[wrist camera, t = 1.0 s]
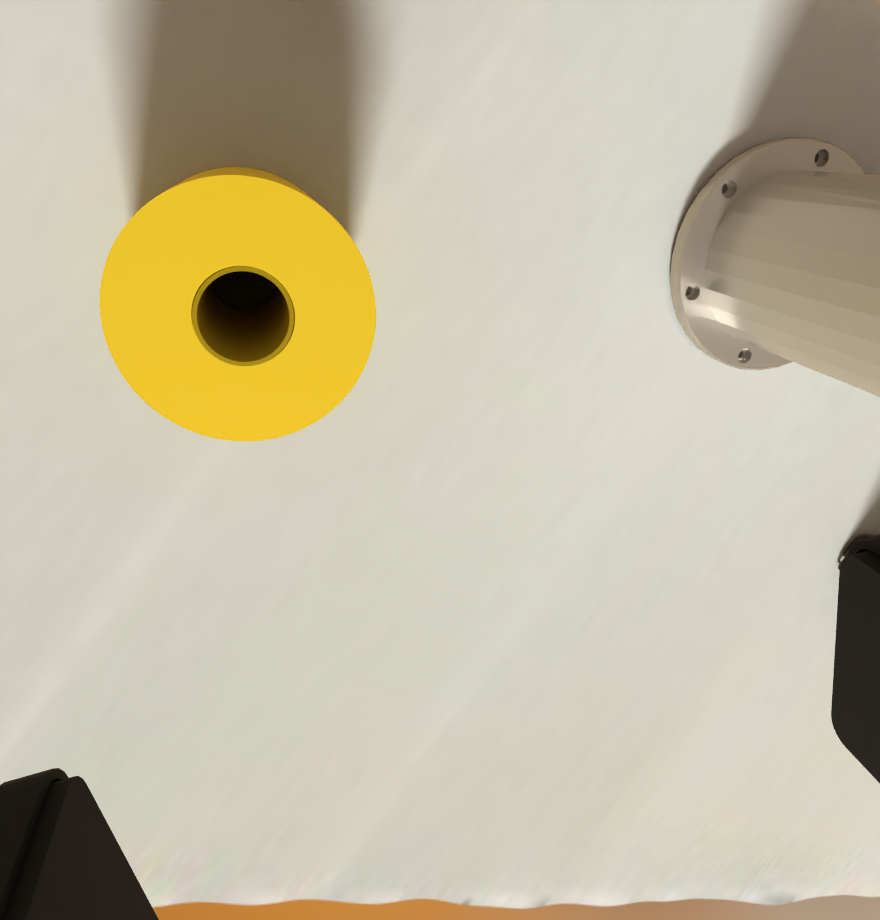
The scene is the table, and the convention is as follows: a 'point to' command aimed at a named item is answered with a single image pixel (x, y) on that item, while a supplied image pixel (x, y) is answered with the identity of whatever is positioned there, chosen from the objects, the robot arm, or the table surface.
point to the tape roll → (229, 331)
